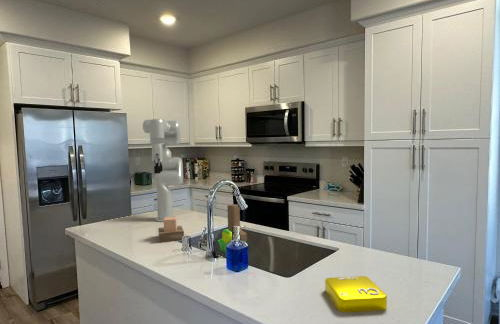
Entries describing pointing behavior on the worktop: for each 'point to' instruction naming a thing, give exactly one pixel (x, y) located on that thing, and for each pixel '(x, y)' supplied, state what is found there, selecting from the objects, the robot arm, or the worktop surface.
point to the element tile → (355, 294)
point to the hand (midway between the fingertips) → (158, 172)
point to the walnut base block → (170, 235)
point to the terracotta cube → (170, 224)
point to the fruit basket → (225, 239)
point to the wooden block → (235, 220)
